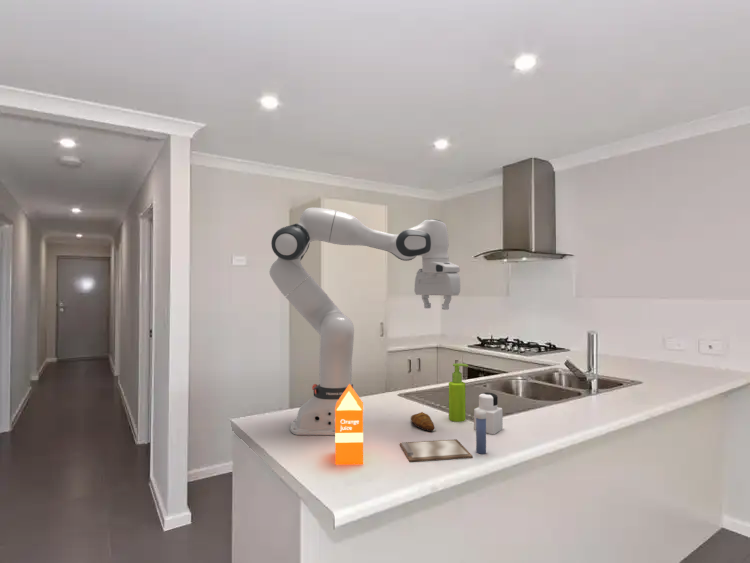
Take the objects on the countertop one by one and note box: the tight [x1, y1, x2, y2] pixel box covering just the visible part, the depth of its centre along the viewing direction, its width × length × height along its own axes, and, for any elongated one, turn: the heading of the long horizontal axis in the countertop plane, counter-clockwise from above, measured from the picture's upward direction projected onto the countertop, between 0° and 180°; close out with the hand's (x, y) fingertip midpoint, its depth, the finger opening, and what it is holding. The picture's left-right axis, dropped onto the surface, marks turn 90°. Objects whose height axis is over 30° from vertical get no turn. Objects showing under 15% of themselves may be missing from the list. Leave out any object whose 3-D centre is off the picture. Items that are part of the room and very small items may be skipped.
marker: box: [475, 409, 487, 455], centre depth 126 cm, size 3×3×12 cm
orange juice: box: [334, 384, 364, 466], centre depth 122 cm, size 8×9×20 cm
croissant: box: [410, 411, 435, 432], centre depth 149 cm, size 14×7×5 cm, turn 24°
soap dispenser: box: [448, 362, 469, 423], centre depth 156 cm, size 6×7×20 cm
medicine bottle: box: [473, 392, 504, 435], centre depth 145 cm, size 7×7×12 cm
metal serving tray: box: [399, 438, 474, 463], centre depth 127 cm, size 18×13×2 cm
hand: (436, 308), depth 146 cm, fingers open, 8 cm apart
